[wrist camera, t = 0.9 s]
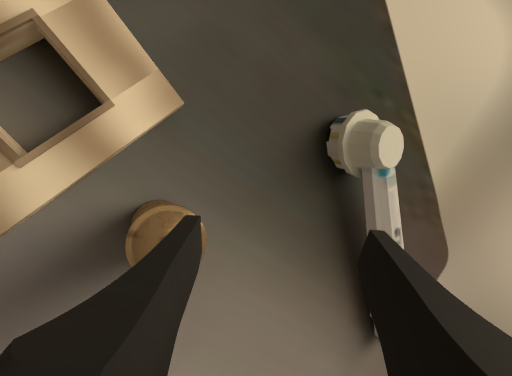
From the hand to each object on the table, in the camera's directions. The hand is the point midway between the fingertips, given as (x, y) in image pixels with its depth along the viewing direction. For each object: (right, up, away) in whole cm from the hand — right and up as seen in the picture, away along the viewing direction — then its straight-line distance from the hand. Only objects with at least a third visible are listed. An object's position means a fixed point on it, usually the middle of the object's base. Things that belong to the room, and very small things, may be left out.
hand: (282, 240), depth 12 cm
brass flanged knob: (-9, -1, +10) cm, 13 cm away
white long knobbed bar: (+10, -2, +19) cm, 22 cm away
